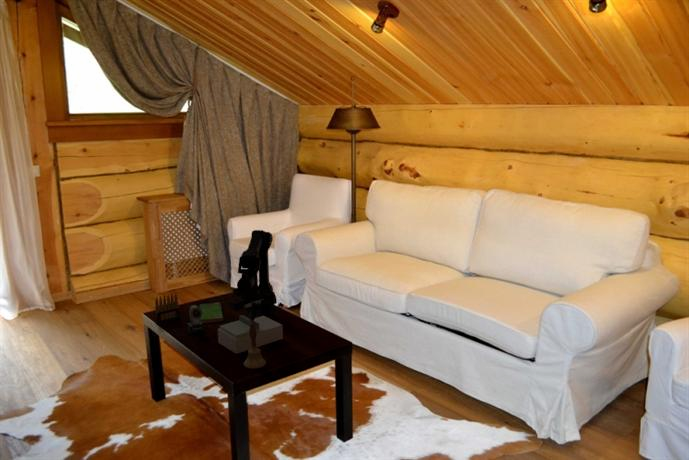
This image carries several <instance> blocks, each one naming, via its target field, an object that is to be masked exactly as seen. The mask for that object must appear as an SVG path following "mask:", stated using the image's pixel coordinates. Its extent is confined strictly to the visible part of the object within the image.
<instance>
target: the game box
mask: <svg viewBox="0 0 689 460" xmlns="http://www.w3.org/2000/svg"><path fill="white" fill-rule="evenodd" d="M199 309H201V311H202V312H203V313H202V316H201V320H200V321H201V322H202V323H203V324H208V323H210V324H211V323H219V322H220V323H221V322H224V315H223V311H222V310H223V309H222V303H221V302H211V303H210V302H209V303H201V304H199Z"/></svg>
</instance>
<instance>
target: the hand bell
mask: <svg viewBox="0 0 689 460" xmlns="http://www.w3.org/2000/svg"><path fill="white" fill-rule="evenodd" d="M249 331H250V337H251V340H252V349H250V350H247V352H248V353H247V358H246V359H245V361H244V362H243V366H244V367H245V368H247V369H253V370H255V369H259V368H262V367H264V366H266V364H267V360H265V358H263V356H262V353H261V349H260V348H259V347H256V335H257V331H256V327H255V325H254V323H251V326H250V330H249Z"/></svg>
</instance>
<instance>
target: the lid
mask: <svg viewBox="0 0 689 460" xmlns="http://www.w3.org/2000/svg"><path fill="white" fill-rule="evenodd" d="M238 318H239V319H238V320H235V321H231V322H229V323H225V324H222V325H219V328H220V329H221V330H223V331H225V332H227V333H228V334H230V335H232V336H233V337H235V338H239V337H243V336H246V335H249V334H250V331H249V330H250V326H251V323H254V325H255V327H256V331H257V332H259V323H257V322H255V321H253V320H251V319H250V317H247V316H245V315H243V314H240V315H238Z"/></svg>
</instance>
